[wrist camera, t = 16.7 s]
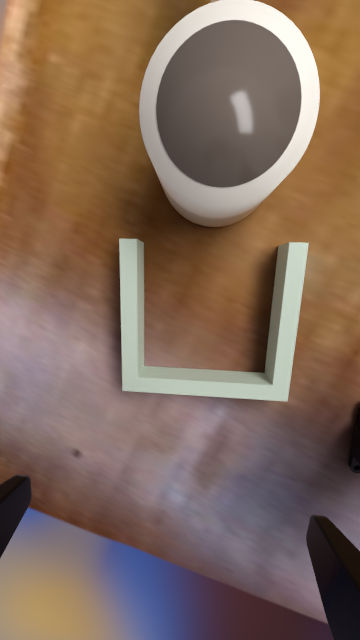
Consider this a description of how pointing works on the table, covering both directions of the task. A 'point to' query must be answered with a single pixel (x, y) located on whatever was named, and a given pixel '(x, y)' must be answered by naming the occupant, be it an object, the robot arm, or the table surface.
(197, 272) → the table surface
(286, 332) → the u-shaped frame
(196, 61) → the saucepan
